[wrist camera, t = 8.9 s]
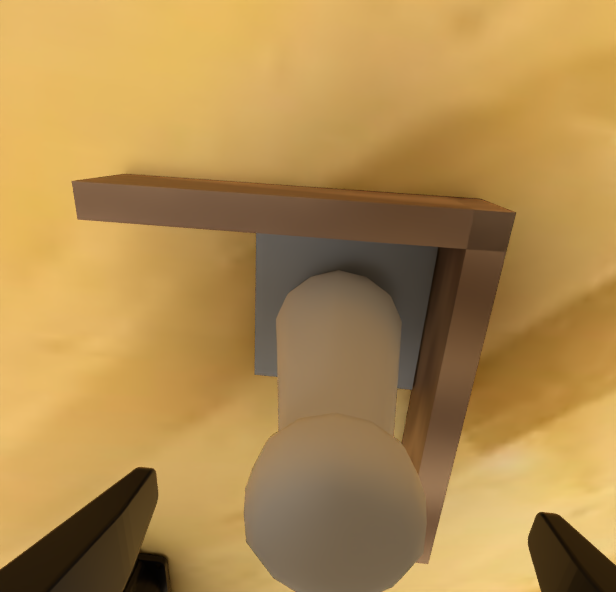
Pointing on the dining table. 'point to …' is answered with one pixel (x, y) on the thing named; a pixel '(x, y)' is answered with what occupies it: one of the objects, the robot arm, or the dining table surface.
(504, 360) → the dining table surface
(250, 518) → the salt shaker
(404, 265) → the slate mat
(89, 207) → the corner walls
